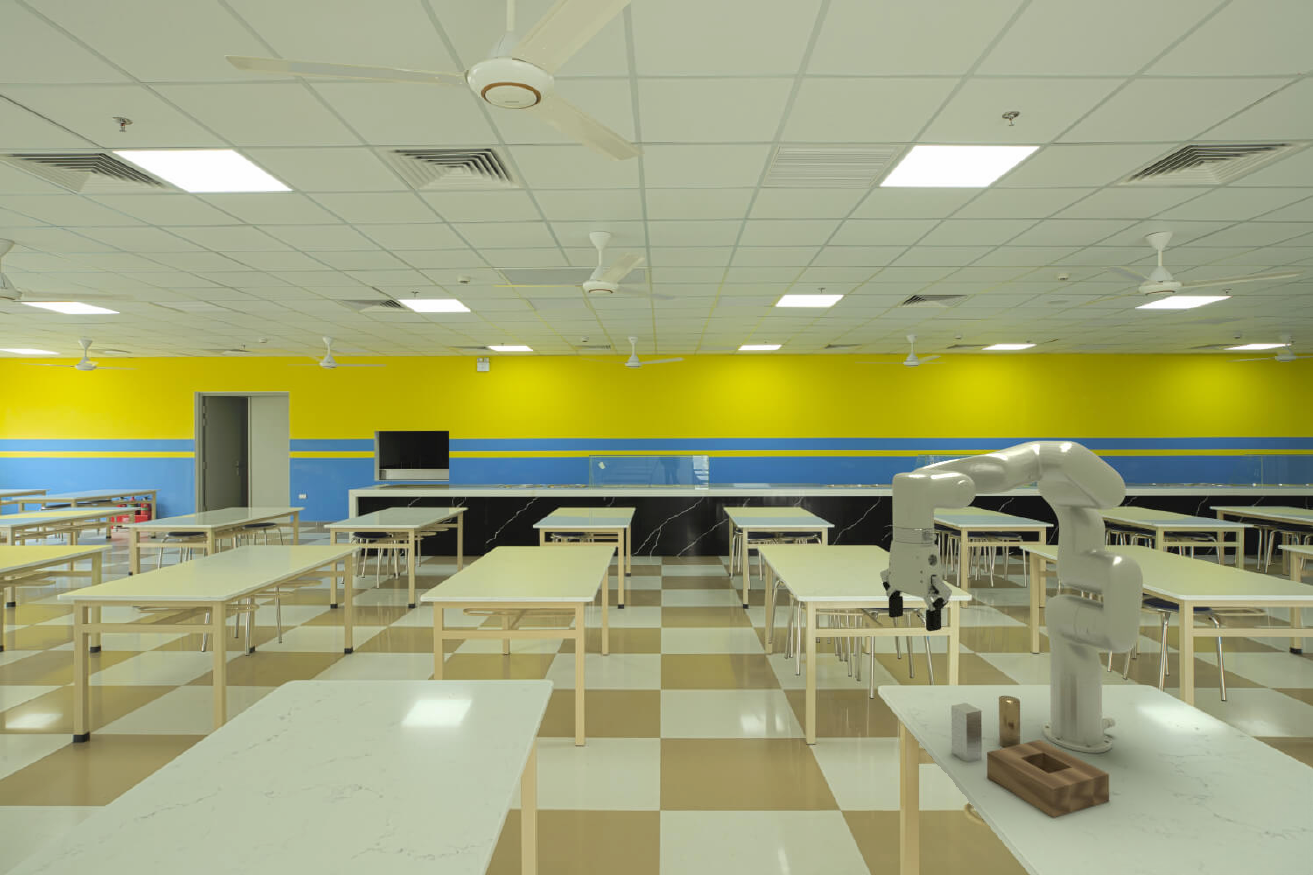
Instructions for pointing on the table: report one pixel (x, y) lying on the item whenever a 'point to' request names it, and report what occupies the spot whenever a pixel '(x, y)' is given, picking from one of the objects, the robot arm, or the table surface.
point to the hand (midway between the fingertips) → (914, 623)
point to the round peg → (1009, 721)
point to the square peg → (966, 732)
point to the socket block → (1048, 777)
